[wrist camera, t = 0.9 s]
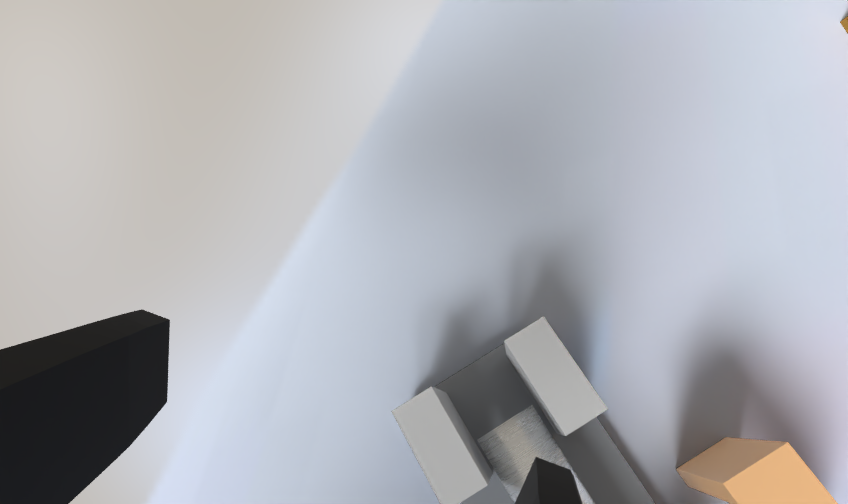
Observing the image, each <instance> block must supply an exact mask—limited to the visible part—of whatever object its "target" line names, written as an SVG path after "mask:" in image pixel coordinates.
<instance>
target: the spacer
mask: <svg viewBox="0 0 848 504" xmlns="http://www.w3.org/2000/svg"><path fill="white" fill-rule="evenodd" d="M676 470H677V472H678V473H679V475H680V476H681V477H682V479H683V480H684V482H685V483H686V484H687V486H688V487H690V488H693V489H695V490H698V491H701V492H703V493H706V494H708V495H711V496H714V497H716V498H719V499H721V500H724V501H727V502H729V504H838V503H837V502H836V501H835V500H834V498H833V497H832V496H831V495H830V493H829V492H828V491H827V490H826V489H825V487H824V486H823V485H822V484H821V482H820V481H819V480H818V479H817V477H816V476H815V475H814V474H813V472H812V471H811V470H810V469H809V467H808V466H807V465H806V464H805V463H804V461H803V460H802V459H801V458H800V456H799V455H798V454H797V453H796V451H795V450H794V449H793V448H792V446H791V445H790V444H789V443H788V442H780V441H767V440H755V439H742V438H730V437H725V438H724V439H722V440H721V441H719V442H718V443H716V444H714V445H713V446H711V447H710V448H708V449H707V450H705V451H703V452H702V453H700V454H699V455H697V456H696V457H694V458H692V459H691V460H689V461H688V462H686V463H685V464H683V465H681V466H680V467H678V468H677V469H676Z"/></svg>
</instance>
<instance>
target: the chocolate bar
mask: <svg viewBox="0 0 848 504" xmlns="http://www.w3.org/2000/svg"><path fill="white" fill-rule="evenodd" d="M840 23H841V24H842V26H843V27H844V29H845V30H846V32H847V33H848V16H847V17H846V18H845V19H843V20H842V21H841V22H840Z"/></svg>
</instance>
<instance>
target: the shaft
mask: <svg viewBox="0 0 848 504" xmlns="http://www.w3.org/2000/svg"><path fill="white" fill-rule="evenodd" d="M477 441H478V442H479V444H480V446H481V448H482V449H483V451H484V453H485V455H486V456H487V458H488V460H489V461H490V463H491V465H492V467H493V468H494V470H495V472H496V473H497V475H498V477H499V479H500V480H501V482H502V484H503V485H504V487H505V489H506V491H507V492H508V494H509V496H510V498H511V499H512V501H513V503H514V504H515V502H516V500H517V497H518V495H519V493H520V491H521V488H522V486H523V484H524V482H525V480H526V477H527V475H528V473H529V471H530V468H531V466H532V464H533V462H534V460H535V457H538V458H541V459H543V460H546V461H549V462H551V463H554V464H557V465H559V466H562V467H565V468H567V469H570V470H571V472H572V474H573V476H574V478H575V481H576V485H577V488H578V491H579V494H580V497H581V500H582V503H583V504H595V503H594V501H593V499H592V498H591V496H590V495H589V493H588V492H587V490H586V488H585V487H584V485H583V484H582V482H581V481H580V479H579V477H578V476H577V474H576V473H575V471H574V470H573V468H572V467H571V465H570V463H569V462H568V460H567V459H566V457H565V456H564V454H563V452H562V451H561V449H560V448H559V446H558V445H557V443H556V441H555V440H554V438H553V437H552V435H551V434H550V432H549V430H548V429H547V427H546V426H545V424H544V423H543V421H542V420H541V418H540V416H539V415H538V413H537V412H536V410H535V409H534V407H533V405H531V406H530V407H528V408H526V409H525V410H523V411H522V412H520V413H518V414H517V415H515V416H514V417H512V418H510V419H509V420H507V421H506V422H504V423H502V424H501V425H499V426H498V427H496V428H494V429H493V430H491V431H490V432H488V433H487V434H485V435H483V436H482V437H480V438H479V439H477Z"/></svg>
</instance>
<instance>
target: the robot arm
mask: <svg viewBox="0 0 848 504" xmlns="http://www.w3.org/2000/svg"><path fill="white" fill-rule="evenodd" d="M169 327H170V320H169V319H166V318H163V317H161V316H158V315H155V314H153V313H150V312H147V311H145V310H138V311H134V312H130V313H126V314H122V315H118V316H115V317H111V318H108V319H104V320H101V321H97V322H93V323H90V324H87V325H84V326H80V327H76V328H73V329H70V330H66V331H63V332H60V333H56V334H53V335H49V336H46V337H43V338H39V339H35V340H32V341H29V342H25V343H22V344H18V345H15V346H11V347H8V348H4V349H1V350H0V504H68V503H70V502H71V501H72V500H73V499H74V498H75V497H76V496H77V495H78V494H79V493H80V492H81V491H82V490H84V489H85V488H86V487H87V486H88V485H89V484H90V483H91V482H92V481H93V480H94V479H95V478H96V477H98V476H99V475H100V474H101V473H102V472H103V471H104V470H105V469H106V468H107V467H108V466H109V465H110V464H111V463H112V462H113V461H114V460H116V459H117V458H118V457H119V456H120V455H121V454H122V453H123V452H124V451H125V450H126V449H127V448H128V447H129V446H130V445H131V444H132V443H133V441H134V440H135V439H136V438H137V437H138V436H139V435H140V433H141V432H142V431H143V430H144V429H145V428H146V427H147V426H148V424H149V423H150V422H151V421H152V419H153V418H154V417H155V416H156V415H157V413H158V412H159V411H160V410H161V408H162V407H163V406H164V405H165V404H166V402H167V387H168V384H167V383H168V355H169ZM515 504H583V503H582V500H581V497H580V494H579V491H578V488H577V485H576V481H575V478H574V476H573V474H572V472H571V470H570V469H567V468H565V467H562V466H559V465H557V464H554V463H551V462H549V461H546V460H543V459H541V458H538V457H535V460H534V462H533V464H532V466H531V468H530V471H529V473H528V475H527V477H526V480H525V482H524V484H523V486H522V488H521V491H520V493H519V495H518V497H517V500H516V502H515Z"/></svg>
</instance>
